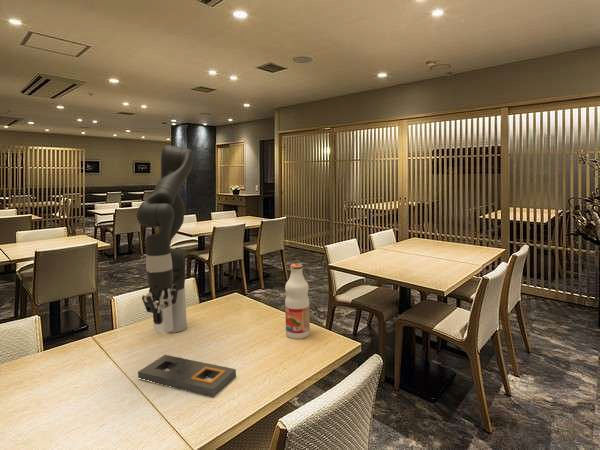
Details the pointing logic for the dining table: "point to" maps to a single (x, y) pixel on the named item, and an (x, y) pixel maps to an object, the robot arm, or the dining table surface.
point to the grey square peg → (164, 320)
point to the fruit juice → (297, 304)
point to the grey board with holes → (188, 375)
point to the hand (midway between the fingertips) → (163, 320)
